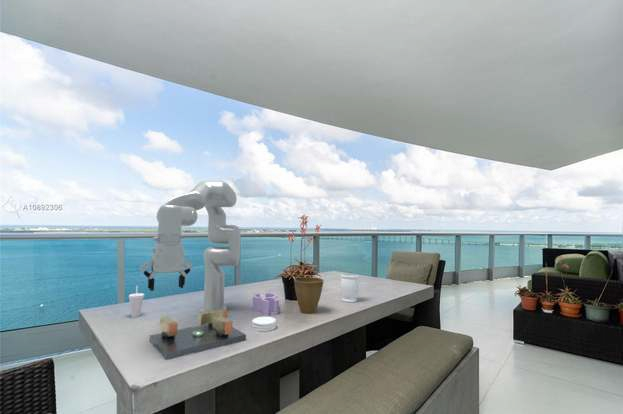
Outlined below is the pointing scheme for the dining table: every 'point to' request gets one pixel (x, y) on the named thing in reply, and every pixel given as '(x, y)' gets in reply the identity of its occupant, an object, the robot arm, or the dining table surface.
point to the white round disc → (263, 324)
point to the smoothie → (136, 303)
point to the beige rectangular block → (210, 316)
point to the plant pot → (308, 293)
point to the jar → (349, 287)
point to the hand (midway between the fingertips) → (166, 288)
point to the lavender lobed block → (266, 303)
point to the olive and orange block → (168, 327)
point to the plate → (193, 341)
